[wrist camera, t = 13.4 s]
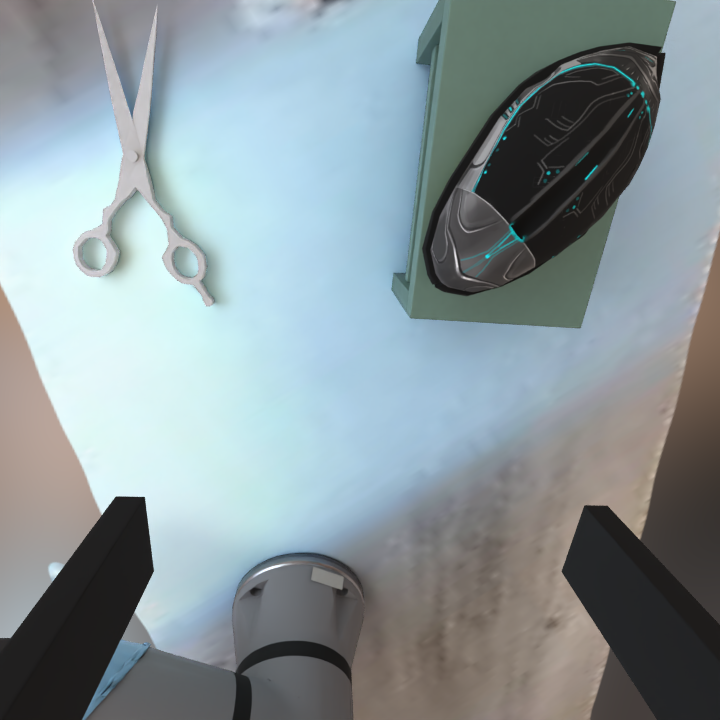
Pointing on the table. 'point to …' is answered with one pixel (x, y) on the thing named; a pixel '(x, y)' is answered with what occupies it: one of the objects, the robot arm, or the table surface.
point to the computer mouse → (544, 167)
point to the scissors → (136, 173)
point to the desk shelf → (468, 116)
